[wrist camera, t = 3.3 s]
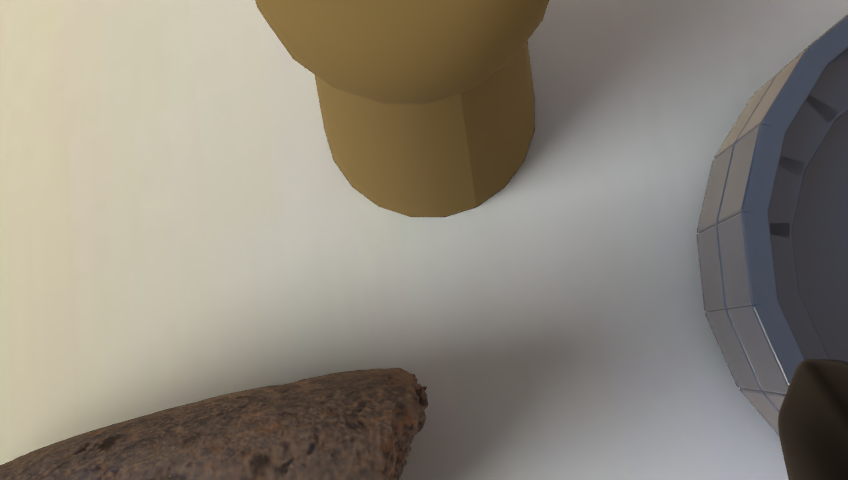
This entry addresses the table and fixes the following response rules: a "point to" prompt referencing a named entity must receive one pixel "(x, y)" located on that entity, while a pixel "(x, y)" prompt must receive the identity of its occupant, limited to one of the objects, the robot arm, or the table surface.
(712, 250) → the bowl
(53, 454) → the perforated stone tool
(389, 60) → the yellow pawn piece
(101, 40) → the table surface
